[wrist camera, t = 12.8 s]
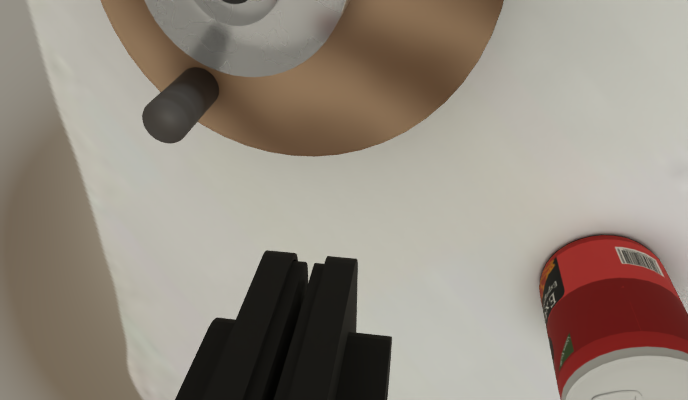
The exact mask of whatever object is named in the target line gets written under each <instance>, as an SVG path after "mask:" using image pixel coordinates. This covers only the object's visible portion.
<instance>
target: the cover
mask: <svg viewBox="0 0 688 400" xmlns="http://www.w3.org/2000/svg"><path fill="white" fill-rule="evenodd" d="M349 1H350V0H145V2H146V5H147V7H148V9H149V11H150V12H151V14H152V16H153V17H154V19H155V21H156V22H157V24H158V25H159V26H160V28H161V29H162V30H163V31H164V33H165V34H166V35H167V36H168V37H169V38H170V39H171V40H172V41H173V43H174V44H175V45H177V46H178V47H179V48H180V49H181V50H182V51H184V52H185V53H186V54H187V55H189V56H190V57H192V58H193V59H195V60H196V61H198V62H200V63H202V64H204V65H205V66H207V67H209V68H212V69H214V70H217V71H220V72H222V73H226V74H230V75H234V76H243V77H263V76H271V75H275V74H279V73H282V72H285V71H287V70H290V69H292V68H294V67H296V66H298V65H300V64H301V63H303V62H304V61H306V60H307V59H309V58H310V57H311V56H312V55H313V54H315V53H316V52H317V51H318V50H319V49H320V47H321V46H322V45H323V44H324V43H325V42H326V40H327V39H328V37H329V36H330V34H331V33H332V32H333V30H334V28H335V26H336V25H337V23H338V21H339V20H340V18H341V16H342V14H343V13H344V11H345V9H346V7H347V5H348V3H349Z"/></svg>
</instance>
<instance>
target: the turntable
mask: <svg viewBox="0 0 688 400" xmlns="http://www.w3.org/2000/svg"><path fill="white" fill-rule="evenodd" d="M503 1H504V0H350V1H349V3H348V5H347V7H346V9H345V11H344V13H343V14H342V16H341V18H340V20H339V21H338V23H337V25H336V26H335V28H334V30H333V32H332V33H331V34H330V36H329V37H328V39H327V40H326V42H325V43H324V44H323V45H322V46H321V47H320V49H319V50H318V51H317V52H316V53H315V54H313V55H312V56H311V57H310V58H309V59H307V60H306V61H304V62H303V63H301V64H300V65H298V66H296V67H294V68H292V69H290V70H287V71H285V72H282V73H279V74H275V75H271V76H263V77H243V76H234V75H230V74H226V73H222V72H220V71H217V70H214V69H212V68H209V67H207V66H205V65H204V64H202V63H200V62H198V61H196V60H195V59H193V58H192V57H190V56H189V55H187V54H186V53H185V52H184V51H182V50H181V49H180V48H179V47H178V46H177V45H175V44H174V43H173V41H172V40H171V39H170V38H169V37H168V36H167V35H166V34H165V33H164V31H163V30H162V29H161V28H160V26H159V25H158V24H157V22H156V21H155V19H154V17H153V16H152V14H151V12H150V11H149V9H148V7H147V5H146V2H145V0H101V3H102V5H103V8H104V10H105V12H106V14H107V16H108V18H109V20H110V22H111V24H112V26H113V29H114V31H115V32H116V34H117V36H118V37H119V39H120V41H121V42H122V44H123V45H124V47H125V49H126V50H127V52H128V54H129V55H130V56H131V58H132V59H133V60H134V62H135V63H136V64H137V66H138V67H139V68H140V69H141V71H142V72H143V73H144V75H145V76H146V77H147V78H148V79H149V80H150V81H151V82H152V83H153V84H154V85H155V86H156V87H157V89H158V90H159V91H160V92H161V93H160V94H159V95H158V96H156V97H155V98H154V99H153V100H152V101H151V102H150V103H149V104H148V105H147V106H146V107H145V108H144V111H143V115H142V118H143V123H144V126H145V128H146V130H147V131H148V132H149V134H150V135H151V136H153V137H154V138H155V139H157V140H159V141H161V142H164V143H176V142H178V141H180V140H182V139H183V138H184V137H185V135H186V134H187V133H188V132H189V131H190V130H191V128H192V127H193V126H194V125H195V124H196V123H197V122H199V123H201V124H202V125H204V126H206V127H208V128H209V129H211V130H213V131H215V132H217V133H219V134H220V135H222V136H224V137H227V138H229V139H232V140H234V141H237V142H239V143H242V144H244V145H247V146H250V147H254V148H257V149H261V150H264V151H268V152H274V153H280V154H286V155H294V156H326V155H339V154H343V153H348V152H353V151H358V150H362V149H365V148H368V147H371V146H374V145H377V144H380V143H383V142H385V141H387V140H390V139H392V138H394V137H396V136H398V135H400V134H402V133H404V132H406V131H407V130H409V129H410V128H412V127H414V126H415V125H417V124H418V123H420V122H421V121H423V120H424V119H426V118H427V117H428V116H429V115H431V114H432V113H433V112H434V111H435V110H436V109H438V108H439V107H440V106H441V105H442V104H443V103H445V102H446V101H447V100H448V98H449V97H450V96H451V95H452V94H453V93H454V92H455V91H456V90H457V89H458V87H459V86H460V85H461V84H462V83H463V82H464V80H465V79H466V77H467V76H468V75H469V73H470V72H471V70H472V69H473V67H474V66H475V65H476V63H477V62H478V60H479V58H480V56H481V55H482V53H483V51H484V49H485V47H486V45H487V43H488V41H489V39H490V38H491V36H492V33H493V30H494V28H495V25H496V22H497V20H498V17H499V14H500V12H501V9H502V5H503Z"/></svg>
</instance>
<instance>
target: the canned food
mask: <svg viewBox="0 0 688 400" xmlns="http://www.w3.org/2000/svg"><path fill="white" fill-rule="evenodd" d="M539 289H540V297H541V302H542V307H543V313H544V318H545V323H546V328H547V333H548V339H549V344H550V349H551V354H552V359H553V364H554V370H555V375H556V380H557V385H558V390H559V394H560V398H561V400H688V314H687V312H686V310H685V308H684V306H683V304H682V302H681V300H680V298H679V296H678V294H677V292H676V290H675V288H674V286H673V284H672V282H671V280H670V278H669V276H668V274H667V272H666V270H665V268H664V266H663V265H662V263H661V262H660V260H659V259H658V258H657V257H656V256H655V255H654V254H653V253H652V252H651V251H650V250H648V249H647V248H646V247H644V246H643V245H641V244H639V243H638V242H636V241H633V240H631V239H628V238H624V237H619V236H612V235H599V236H590V237H587V238H583V239H579V240H577V241H574V242H572V243H569V244H567V245H566V246H564V247H563V248H561V249H560V250H558V251H557V252H556V253H555V254H554V255H553V256H552V257H551V258H550V259H549V261H548V262H547V263H546V265H545V268H544V270H543V272H542V276H541V279H540V286H539Z"/></svg>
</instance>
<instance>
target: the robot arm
mask: <svg viewBox="0 0 688 400" xmlns="http://www.w3.org/2000/svg"><path fill="white" fill-rule="evenodd" d="M357 273H358V262H357V259H352V258H341V257H331V256H327V258H326V261H325V264H320V263H315V264H314V266H313V270H312V273H311V276H310V280H309V283H308V267H307V263H306V262H299V261H298V258H297V254H296V253H288V252H278V251H265V253H264V254H263V256H262V259H261V261H260V264H259V266H258V268H257V271H256V273H255V276H254V278H253V280H252V283H251V285H250V287H249V290H248V292H247V295H246V297H245V299H244V302H243V304H242V306H241V309H240V311H239V314H238V316H237V318H236V320H234V319H225V318H216V319H214V320H213V321H212V323H211V325H210V326H209V328H208V330H207V333H206V335H205V337H204V339H203V341H202V343H201V345H200V347H199V350H198V352H197V354H196V356H195V358H194V360H193V362H192V365H191V367H190V369H189V371H188V373H187V375H186V377H185V380H184V382H183V384H182V386H181V388H180V390H179V392H178V395H177V397H176V399H175V400H387V397H388V385H389V373H390V360H391V345H392V337H390V336H381V335H372V334H363V333H356V317H357Z"/></svg>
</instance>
